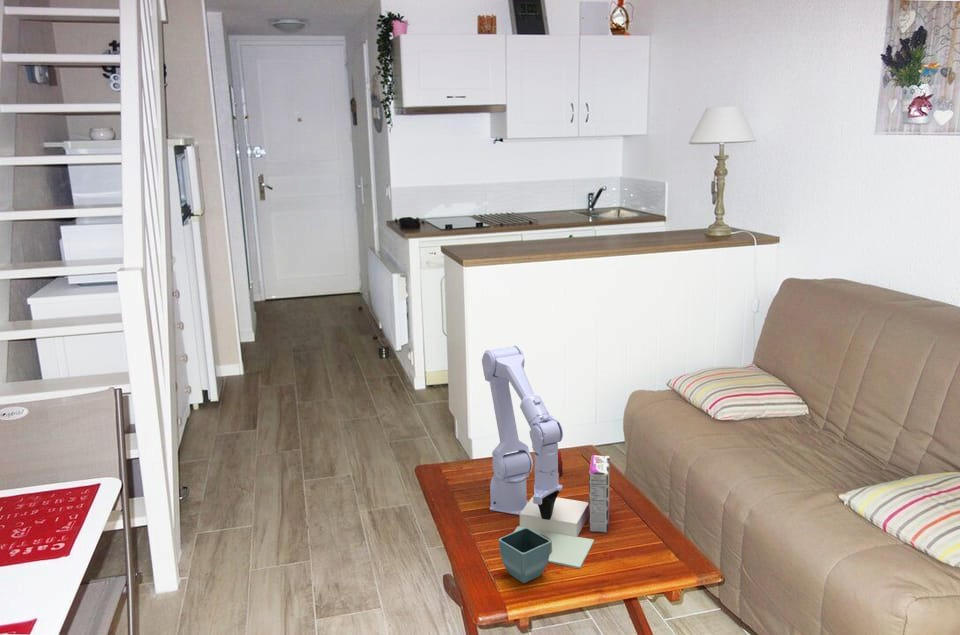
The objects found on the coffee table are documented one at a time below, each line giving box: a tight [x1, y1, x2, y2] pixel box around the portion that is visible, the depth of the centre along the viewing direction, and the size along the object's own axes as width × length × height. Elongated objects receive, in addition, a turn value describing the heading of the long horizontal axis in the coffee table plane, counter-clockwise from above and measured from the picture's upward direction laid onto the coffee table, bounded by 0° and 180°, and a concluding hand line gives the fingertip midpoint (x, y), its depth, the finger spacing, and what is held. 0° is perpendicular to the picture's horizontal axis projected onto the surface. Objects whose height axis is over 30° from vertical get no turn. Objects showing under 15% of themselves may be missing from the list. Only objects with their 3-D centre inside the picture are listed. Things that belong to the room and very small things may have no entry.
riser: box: [519, 496, 589, 537], centre depth 193 cm, size 15×12×4 cm
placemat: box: [513, 525, 595, 570], centre depth 181 cm, size 20×13×1 cm, turn 67°
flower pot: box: [498, 527, 551, 584], centre depth 169 cm, size 9×9×9 cm
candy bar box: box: [588, 454, 610, 534], centre depth 191 cm, size 11×5×16 cm, turn 168°
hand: (546, 518), depth 186 cm, fingers closed
